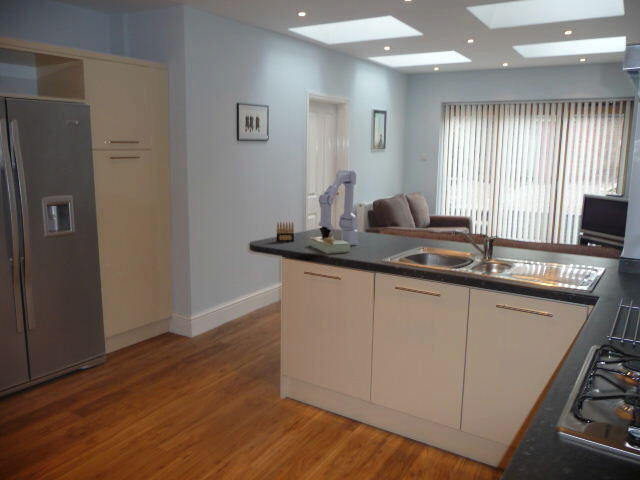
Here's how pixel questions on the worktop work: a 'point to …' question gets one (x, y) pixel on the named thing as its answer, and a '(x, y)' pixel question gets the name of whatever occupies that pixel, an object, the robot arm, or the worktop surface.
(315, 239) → the lid
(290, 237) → the ammunition clip
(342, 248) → the flat box
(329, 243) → the block
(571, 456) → the worktop surface
